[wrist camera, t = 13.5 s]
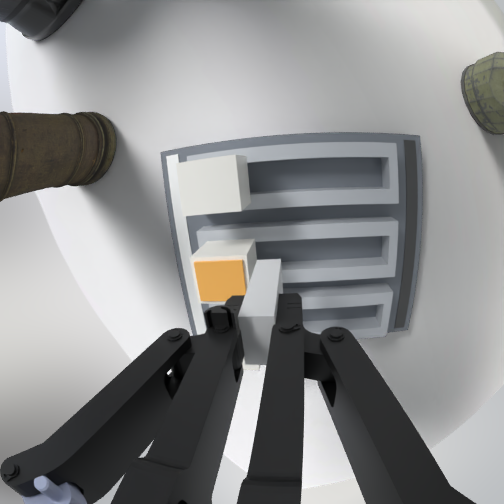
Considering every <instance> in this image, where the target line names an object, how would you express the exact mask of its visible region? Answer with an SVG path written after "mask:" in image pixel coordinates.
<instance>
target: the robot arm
mask: <svg viewBox="0 0 504 504" xmlns="http://www.w3.org/2000/svg"><path fill="white" fill-rule="evenodd" d="M81 2H82V0H0V21H1V22H6V23H9V24H10V25H11V26H13V27H14V28H15V29H17V30H18V31H20V32H22V35H23V36H24V37H26V38H28V39H32V40H36V41H38V40H42V39H44V38H46V37H48V36H49V35H51V34H52V33H53V32H54V31H56V30H57V29H58V28H59V27H60V26H61V25H62V24H63V23H64V22H65V21H66V20H67V19H68V18H69V17H70V16H71V14H72V13H73V12H74V11H75V10H76V8H77V7H78V6H79V4H80V3H81ZM204 316H205V321H206V326H207V330H206V332H205V333H204V334H200V335H194V336H190V335H189V332H188V331H187V330H185V329H182V328H174V329H171V330H168V331H166V332H165V333H163V334H162V335H161V336H160V337H159V338H158V339H157V340H156V341H155V342H154V343H153V344H151V345H150V346H149V347H148V348H147V349H146V350H145V351H144V352H143V353H142V354H140V355H139V356H138V357H137V358H136V359H135V360H134V361H133V362H132V363H131V364H129V365H128V366H127V367H126V368H125V369H124V370H123V371H122V372H121V373H120V374H119V375H117V376H116V377H115V378H114V379H113V380H112V381H111V382H110V383H109V384H108V385H106V386H105V387H104V388H103V389H102V390H101V391H100V392H99V393H98V394H97V395H95V396H94V397H93V398H92V399H91V400H90V401H89V402H88V403H87V404H86V405H84V406H83V407H82V408H81V409H80V410H79V411H78V412H77V413H76V414H75V415H74V416H73V417H71V418H70V419H69V420H68V421H67V422H66V423H65V424H64V425H63V426H62V427H60V428H59V429H58V430H57V431H56V432H55V433H54V434H53V435H52V436H50V437H49V438H48V439H47V440H46V441H45V442H44V443H42V444H40V445H37V446H35V447H33V448H30V449H28V450H26V451H23V452H21V453H19V454H16V455H14V456H11V457H9V458H7V459H6V460H4V462H3V463H2V465H1V469H0V473H1V477H2V480H3V481H4V482H5V483H6V484H7V485H8V486H10V487H11V488H12V489H13V490H15V491H16V492H17V493H19V494H20V495H21V496H22V498H23V501H24V504H93V503H95V502H96V501H97V500H99V499H101V498H102V497H103V496H104V495H105V494H107V493H108V492H109V491H110V490H111V488H112V487H113V486H114V485H115V484H116V483H117V482H118V481H119V480H120V478H121V477H122V476H123V475H124V474H125V475H124V477H123V479H122V481H121V483H120V485H119V488H118V489H117V491H116V494H115V496H114V498H113V500H112V502H111V504H212V500H211V499H212V493H213V489H214V485H215V481H216V478H217V474H218V471H219V467H220V463H221V459H222V455H223V452H224V448H225V444H226V440H227V436H228V432H229V428H230V424H231V420H232V416H233V412H234V408H235V404H236V400H237V396H238V392H239V388H240V384H241V380H242V376H243V364H242V363H243V359H244V360H245V365H266V372H265V378H264V384H263V390H262V397H261V403H260V409H259V414H258V420H257V426H256V432H255V437H254V443H253V448H252V454H251V459H250V464H249V469H248V474H247V477H246V478H245V479H244V480H243V482H242V484H241V488H240V492H239V496H238V501H237V504H301V489H302V463H303V437H304V378H307V379H312V380H317V381H318V386H319V388H320V390H321V393H322V395H323V398H324V400H325V403H326V405H327V407H328V410H329V412H330V415H331V417H332V420H333V422H334V425H335V427H336V430H337V432H338V435H339V437H340V439H341V442H342V444H343V447H344V449H345V452H346V454H347V457H348V459H349V462H350V464H351V467H352V469H353V472H354V474H355V477H356V480H357V482H358V485H359V487H360V490H361V492H362V495H363V497H364V500H365V502H366V504H476V503H474V502H473V501H471V500H470V499H468V498H467V497H465V496H464V495H463V494H461V493H460V492H458V491H457V490H455V489H454V488H453V487H451V486H450V484H449V483H448V481H447V479H446V478H445V476H444V474H443V472H442V471H441V469H440V467H439V466H438V464H437V462H436V461H435V459H434V457H433V456H432V454H431V453H430V451H429V449H428V448H427V446H426V444H425V443H424V441H423V439H422V438H421V436H420V435H419V433H418V431H417V430H416V428H415V427H414V425H413V424H412V422H411V420H410V419H409V417H408V416H407V414H406V413H405V411H404V410H403V408H402V406H401V405H400V403H399V402H398V400H397V399H396V397H395V396H394V394H393V393H392V391H391V390H390V388H389V387H388V385H387V384H386V382H385V381H384V379H383V378H382V376H381V375H380V373H379V372H378V370H377V369H376V367H375V366H374V365H373V363H372V362H371V360H370V359H369V357H368V356H367V354H366V353H365V351H364V350H363V349H362V347H361V346H360V344H359V343H358V341H357V340H356V339H355V337H354V336H353V334H352V333H351V332H350V331H349V330H348V329H346V328H343V327H337V326H336V327H329V328H326V329H325V330H323V331H322V332H321V334H316V333H312V332H309V331H308V330H306V329H305V328H304V326H303V314H302V297H301V296H300V295H299V294H298V293H283V283H282V267H281V259H267V260H257V262H256V265H255V268H254V271H253V274H252V277H251V279H250V282H249V285H248V288H247V291H246V294H245V295H232V296H231V297H230V298H229V299H228V300H227V301H226V303H225V305H218V306H213V307H210V308H209V309H207V310H206V311H205V312H204ZM170 369H171V371H172V372H171V373H170V374H169V375H167V372H168V371H169V370H170ZM153 440H154V441H153ZM152 441H153V443H152V445H151V447H150V449H149V451H148V453H147V455H146V456H145V457H144V458H139V456H140V455H141V454H142V453H143V452H144V450H145V449H146V448H147V447H148V446H149V445H150V443H151V442H152Z"/></svg>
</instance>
